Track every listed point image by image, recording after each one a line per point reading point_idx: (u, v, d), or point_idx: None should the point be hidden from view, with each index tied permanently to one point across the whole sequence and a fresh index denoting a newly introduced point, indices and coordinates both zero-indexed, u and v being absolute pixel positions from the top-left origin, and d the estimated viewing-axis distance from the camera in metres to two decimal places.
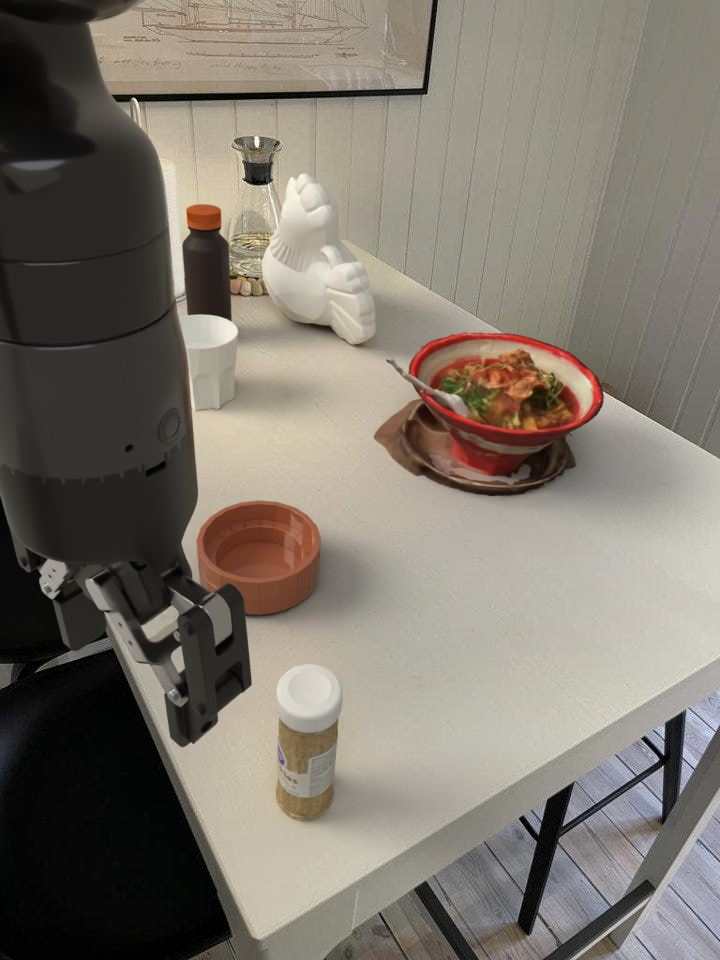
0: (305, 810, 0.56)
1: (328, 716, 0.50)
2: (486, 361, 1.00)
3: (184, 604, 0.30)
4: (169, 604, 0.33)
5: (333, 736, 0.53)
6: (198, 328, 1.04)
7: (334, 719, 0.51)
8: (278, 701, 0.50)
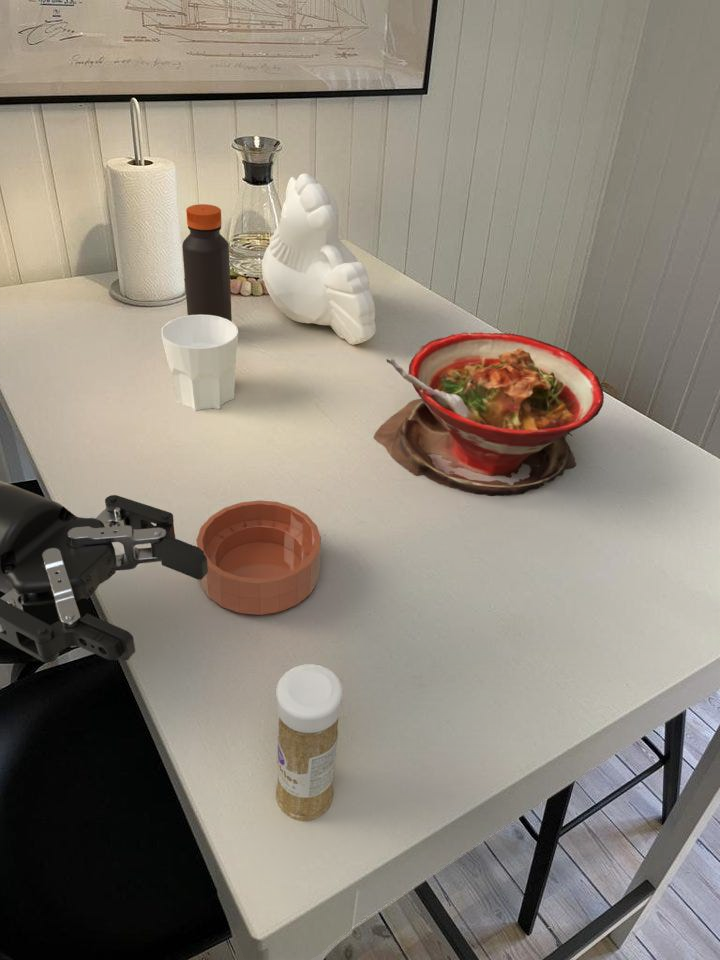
0: (305, 810, 0.56)
1: (328, 716, 0.50)
2: (486, 361, 1.00)
3: (105, 514, 0.59)
4: None
5: (333, 736, 0.53)
6: (198, 328, 1.04)
7: (334, 719, 0.51)
8: (278, 701, 0.50)
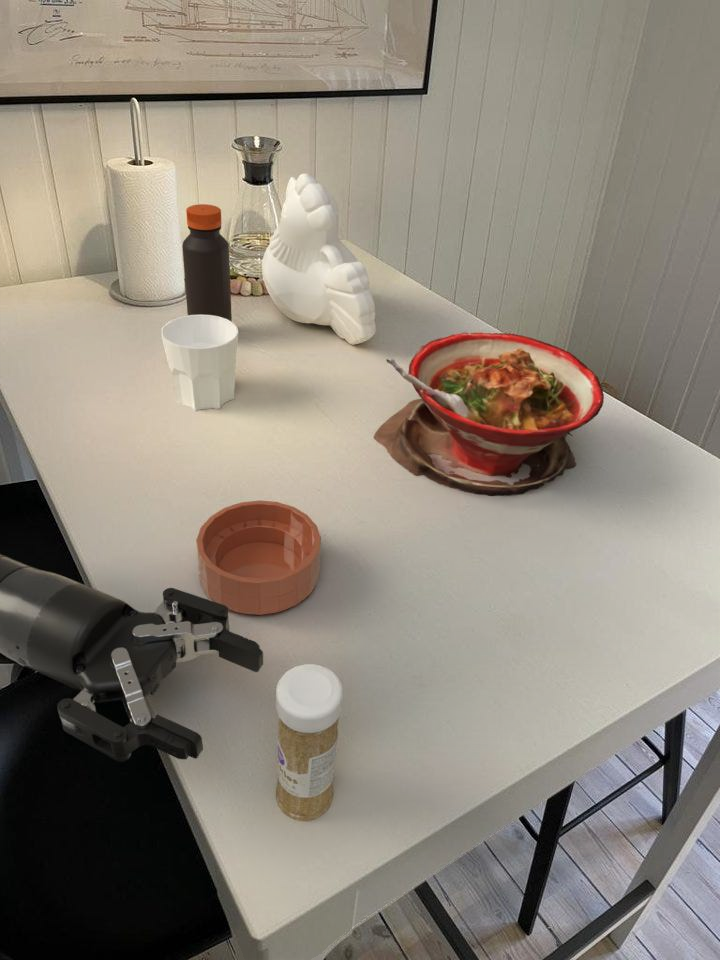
0: (305, 810, 0.56)
1: (328, 716, 0.50)
2: (486, 361, 1.00)
3: (163, 607, 0.62)
4: None
5: (333, 736, 0.53)
6: (198, 328, 1.04)
7: (334, 719, 0.51)
8: (278, 701, 0.50)
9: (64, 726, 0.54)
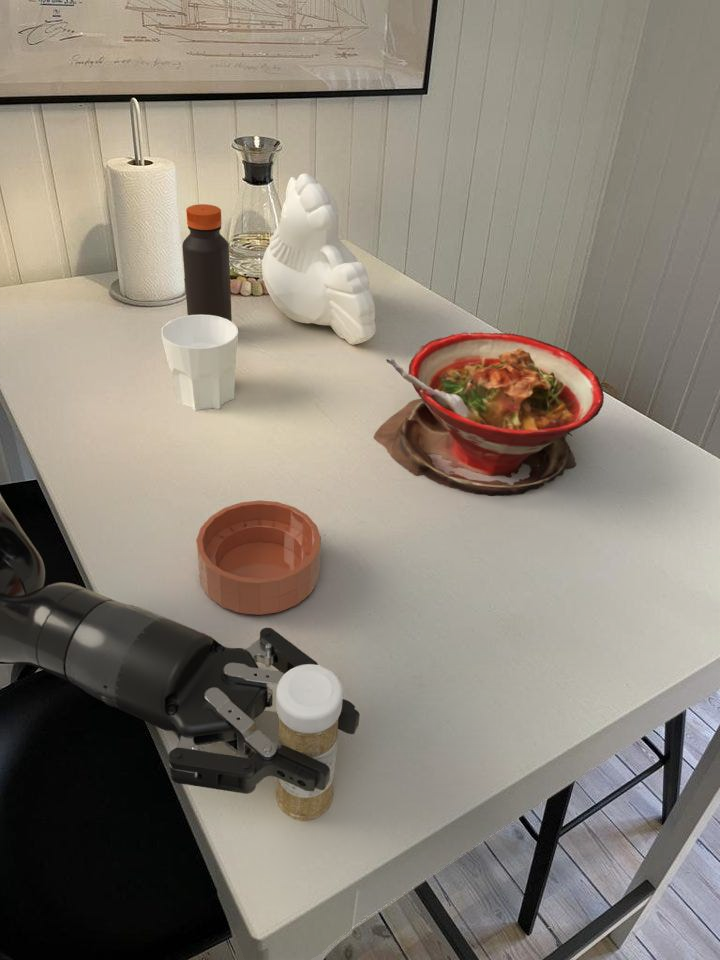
0: (305, 810, 0.56)
1: (328, 716, 0.50)
2: (486, 361, 1.00)
3: (257, 646, 0.60)
4: None
5: (333, 736, 0.53)
6: (198, 328, 1.04)
7: (334, 719, 0.51)
8: (278, 701, 0.50)
9: (177, 777, 0.52)
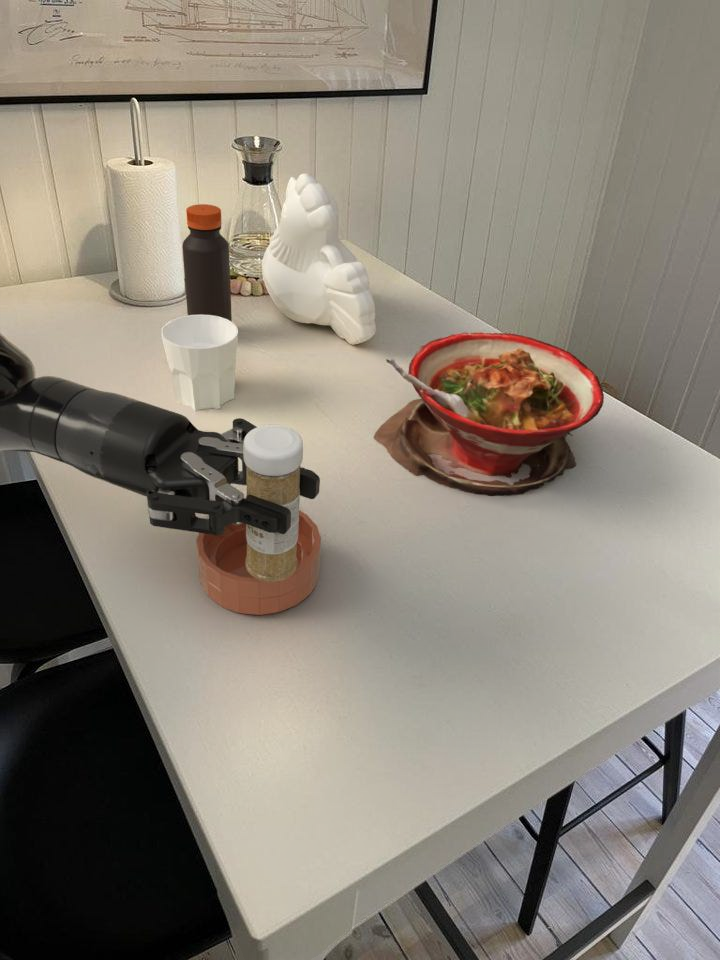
0: (271, 570, 0.63)
1: (289, 459, 0.56)
2: (486, 361, 1.00)
3: (229, 433, 0.66)
4: None
5: (295, 489, 0.59)
6: (198, 328, 1.04)
7: (295, 466, 0.57)
8: (244, 448, 0.57)
9: (154, 520, 0.58)
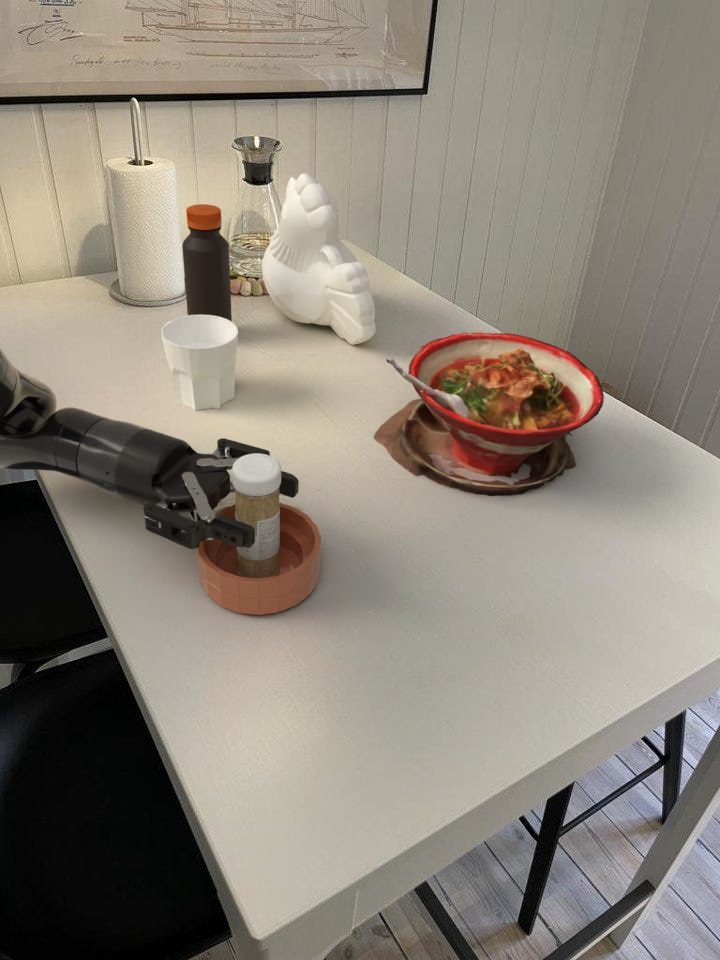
0: (257, 573, 0.75)
1: (269, 482, 0.69)
2: (486, 361, 1.00)
3: (217, 452, 0.78)
4: None
5: (275, 506, 0.71)
6: (198, 328, 1.04)
7: (274, 487, 0.70)
8: (233, 473, 0.69)
9: (147, 525, 0.70)
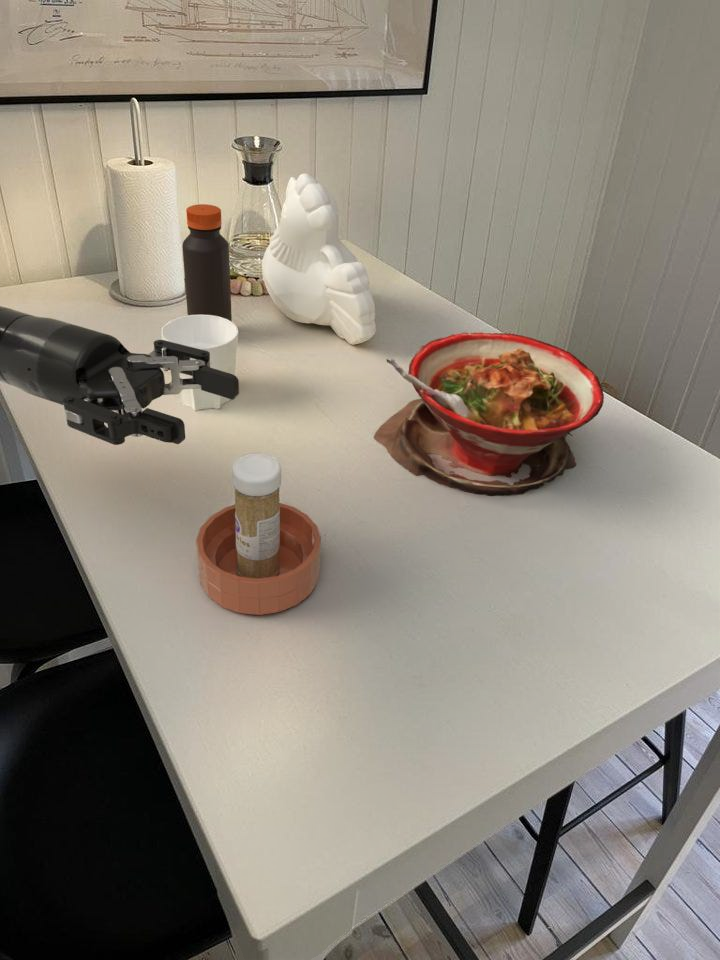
0: (257, 573, 0.75)
1: (269, 482, 0.69)
2: (486, 361, 1.00)
3: (153, 353, 0.72)
4: None
5: (275, 506, 0.71)
6: (198, 328, 1.04)
7: (274, 487, 0.70)
8: (233, 473, 0.69)
9: (68, 420, 0.64)
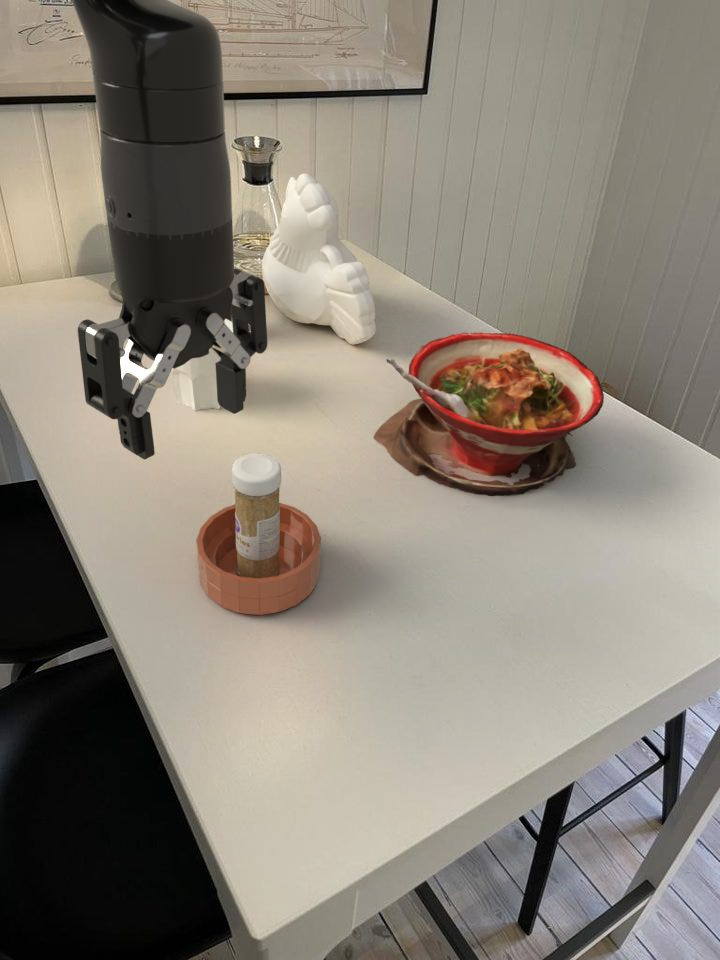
0: (257, 573, 0.75)
1: (269, 482, 0.69)
2: (486, 361, 1.00)
3: (239, 287, 0.53)
4: None
5: (275, 506, 0.71)
6: None
7: (274, 487, 0.70)
8: (233, 473, 0.69)
9: (84, 335, 0.46)
